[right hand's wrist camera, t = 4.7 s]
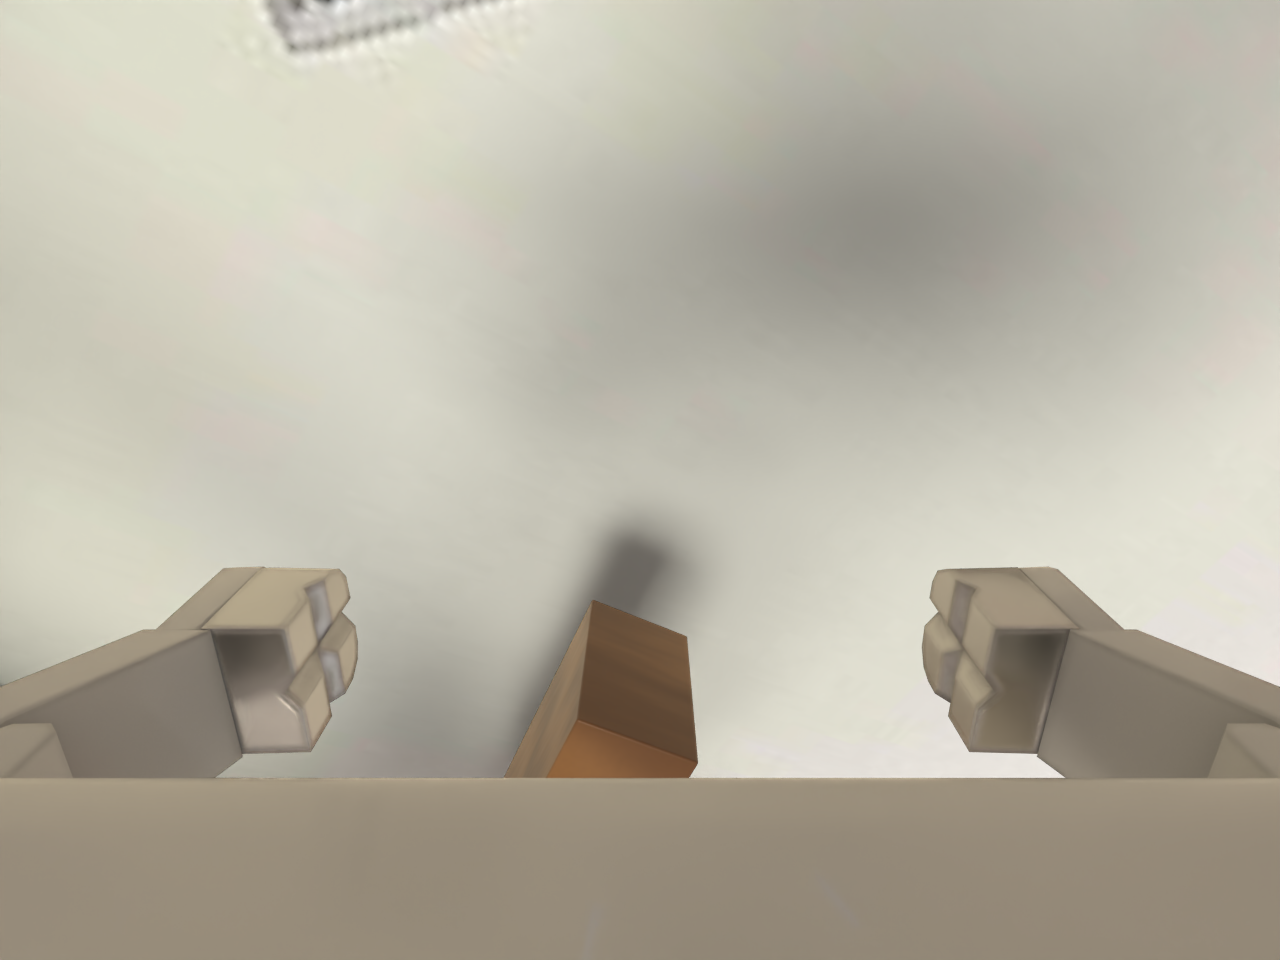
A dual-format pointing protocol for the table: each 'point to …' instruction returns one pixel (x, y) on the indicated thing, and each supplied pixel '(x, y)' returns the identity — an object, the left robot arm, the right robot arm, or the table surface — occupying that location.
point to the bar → (614, 705)
